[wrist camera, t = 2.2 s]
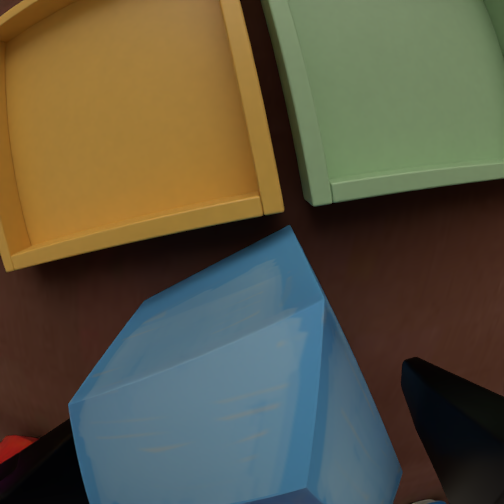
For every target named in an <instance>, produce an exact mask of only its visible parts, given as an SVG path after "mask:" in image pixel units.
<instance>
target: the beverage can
mask: <svg viewBox="0 0 504 504" xmlns="http://www.w3.org/2000/svg"><path fill="white" fill-rule="evenodd" d="M412 504H446V503H445V502H444V501H435V500H432V499H427V500H422V501H418V502H415V503H412Z"/></svg>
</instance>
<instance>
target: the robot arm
mask: <svg viewBox="0 0 504 504" xmlns="http://www.w3.org/2000/svg"><path fill="white" fill-rule="evenodd" d="M401 387H402V390H403V393H404V396H405V399H406V402H407V405H408V407H409V410H410V413H411V416H412V419H413V422H414V425H415V428H416V430H417V433H418V435H419V437H420V439H421V441H422V443H423V445H424V448H425V450H426V452H427V454H428V456H429V458H430V460H431V463H432V465H433V467H434V469H435V471H436V474H437V476H438V478H439V480H440V482H441V485H442V487H443V489H444V492H445V494H446V496H447V499H448V501H449V503H450V504H504V397H503V396H501V395H499V394H497V393H494V392H492V391H490V390H488V389H485V388H483V387H481V386H479V385H477V384H474V383H472V382H470V381H468V380H466V379H463V378H461V377H459V376H457V375H455V374H453V373H450V372H448V371H446V370H444V369H442V368H440V367H437V366H435V365H433V364H431V363H429V362H427V361H425V360H422V359H420V358H418V357H413V358H410V359H406V360H404V361H403V364H402V376H401ZM0 504H89V500H88V497H87V493H86V490H85V486H84V482H83V478H82V474H81V470H80V466H79V462H78V457H77V452H76V448H75V443H74V437H73V432H72V426H71V420H70V418H69V419H68V420H66V421H65V422H63V423H62V424H61V425H59V426H58V427H56V428H55V429H53V430H52V431H50V432H49V433H47V434H46V435H44V436H43V437H41V438H40V439H38V440H37V441H35V442H34V443H32V444H31V445H29V446H28V447H26V448H25V449H23V450H21V451H20V453H17V454H15V455H14V456H12V457H11V458H9V459H7V460H6V461H4V462H2V463H1V464H0Z"/></svg>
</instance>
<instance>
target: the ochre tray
mask: <svg viewBox="0 0 504 504" xmlns="http://www.w3.org/2000/svg"><path fill="white" fill-rule="evenodd" d="M282 212H284V204H283V198H282V193H281V188H280V182H279V177H278V172H277V166H276V161H275V156H274V151H273V146H272V141H271V136H270V131H269V126H268V121H267V117H266V112H265V107H264V102H263V98H262V93H261V89H260V84H259V79H258V75H257V70H256V66H255V62H254V57H253V53H252V49H251V44H250V40H249V36H248V32H247V27H246V23H245V19H244V15H243V11H242V7H241V3H240V0H23V1H22V2H20V3H19V4H17V5H16V6H15V7H13V8H12V9H10V10H9V11H7V12H6V13H5V14H3V15H2V16H1V17H0V254H1V257H2V260H3V264H4V267H5V270H6V272H11V271H15V270H19V269H23V268H27V267H31V266H35V265H39V264H43V263H47V262H51V261H55V260H59V259H63V258H67V257H72V256H76V255H80V254H84V253H89V252H93V251H97V250H102V249H106V248H110V247H115V246H119V245H124V244H128V243H133V242H137V241H142V240H146V239H151V238H156V237H160V236H165V235H170V234H175V233H179V232H184V231H189V230H194V229H199V228H204V227H209V226H214V225H219V224H224V223H229V222H234V221H239V220H245V219H250V218H255V217H260V216H263V213H264V215H271V214H277V213H282Z"/></svg>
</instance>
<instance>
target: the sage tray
mask: <svg viewBox="0 0 504 504" xmlns="http://www.w3.org/2000/svg"><path fill="white" fill-rule="evenodd" d="M260 1H261V4H262V8H263V12H264V16H265V19H266V23H267V27H268V31H269V35H270V39H271V43H272V47H273V51H274V55H275V59H276V63H277V68H278V72H279V76H280V81H281V85H282V90H283V94H284V99H285V103H286V108H287V113H288V117H289V122H290V127H291V132H292V137H293V142H294V147H295V152H296V157H297V163H298V168H299V174H300V179H301V185H302V190H303V196H304V199H305V200H306V201H307V202H309V203H310V204H311V205H312V206H314V207H316V206H322V205H328V204H332V202H333V203H339V202H345V201H351V200H357V199H363V198H370V197H376V196H382V195H389V194H395V193H402V192H409V191H415V190H422V189H429V188H436V187H443V186H451V185H458V184H466V183H473V182H481V181H489V180H497V179H504V0H260Z"/></svg>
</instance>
